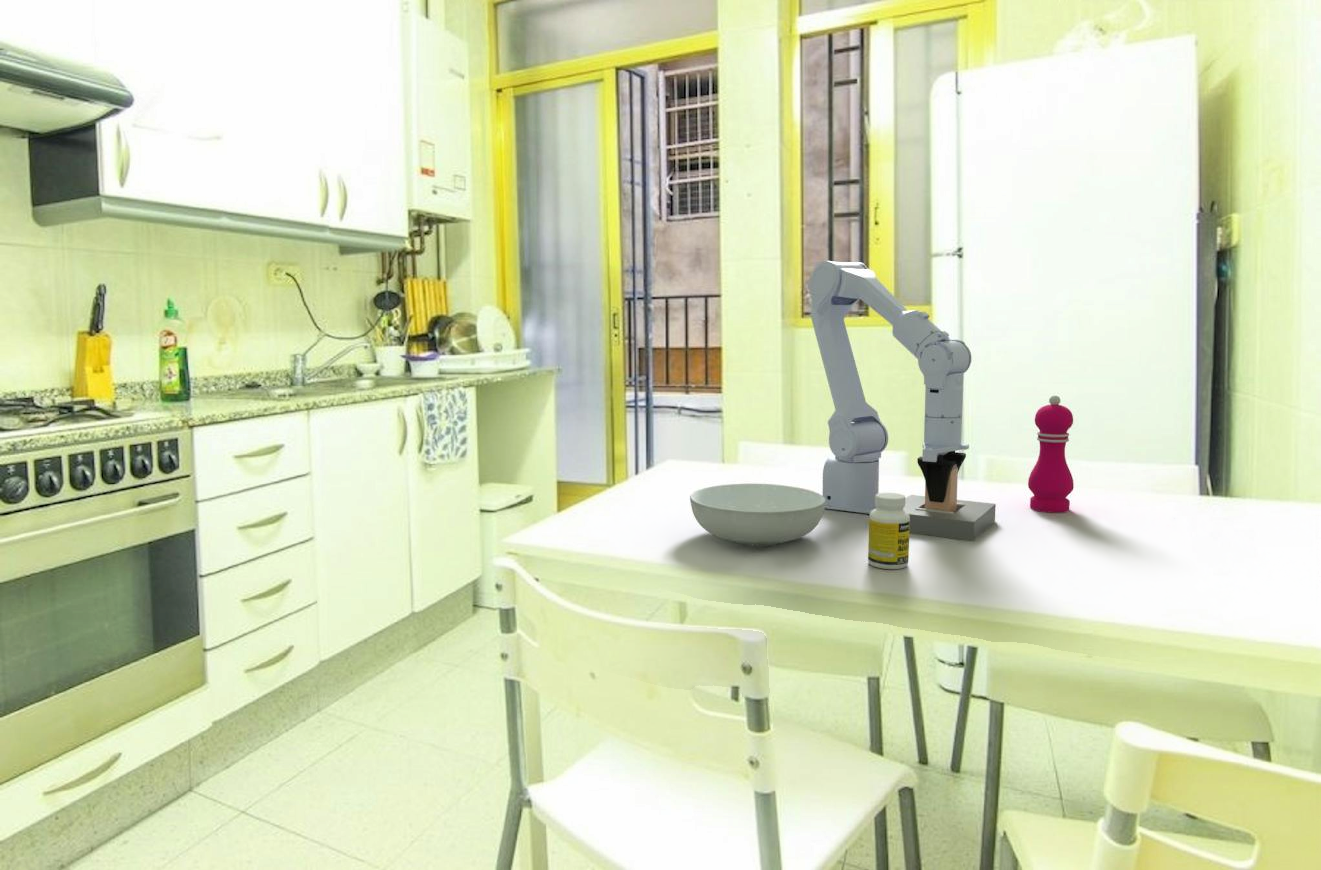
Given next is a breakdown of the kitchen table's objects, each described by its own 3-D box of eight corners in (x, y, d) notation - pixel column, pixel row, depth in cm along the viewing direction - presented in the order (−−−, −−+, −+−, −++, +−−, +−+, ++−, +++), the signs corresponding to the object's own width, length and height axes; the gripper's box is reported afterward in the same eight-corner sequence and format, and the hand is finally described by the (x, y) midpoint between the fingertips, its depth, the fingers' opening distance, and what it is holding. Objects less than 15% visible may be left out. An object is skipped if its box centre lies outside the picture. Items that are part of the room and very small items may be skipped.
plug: (924, 517, 132) (925, 465, 131) (931, 512, 135) (933, 461, 134) (949, 520, 130) (951, 467, 129) (956, 515, 133) (958, 463, 132)
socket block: (883, 529, 131) (883, 509, 131) (910, 511, 142) (911, 493, 142) (973, 541, 123) (974, 520, 123) (994, 521, 135) (995, 502, 134)
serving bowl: (812, 562, 114) (813, 515, 113) (672, 550, 121) (671, 505, 120) (834, 527, 133) (834, 486, 132) (712, 518, 141) (711, 479, 140)
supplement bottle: (902, 572, 109) (904, 501, 107) (862, 566, 112) (864, 497, 110) (913, 562, 113) (915, 493, 112) (874, 556, 116) (876, 489, 115)
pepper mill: (1027, 511, 141) (1032, 397, 138) (1026, 503, 147) (1031, 393, 144) (1074, 515, 138) (1080, 397, 135) (1070, 505, 144) (1076, 394, 142)
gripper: (956, 422, 122) (953, 510, 124) (980, 412, 134) (977, 493, 136) (910, 420, 126) (907, 505, 128) (937, 410, 138) (934, 488, 140)
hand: (940, 498), depth 132 cm, fingers closed on plug, 4 cm apart
